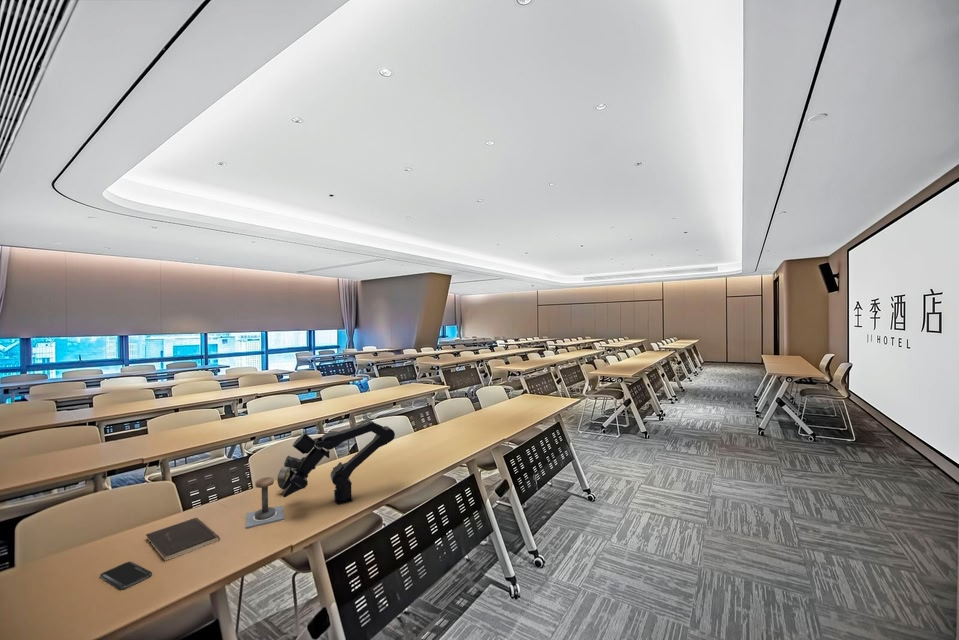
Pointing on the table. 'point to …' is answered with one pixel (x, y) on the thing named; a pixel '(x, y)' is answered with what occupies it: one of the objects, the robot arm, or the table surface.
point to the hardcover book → (182, 538)
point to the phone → (126, 575)
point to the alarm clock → (283, 476)
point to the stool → (264, 499)
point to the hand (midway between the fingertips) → (283, 492)
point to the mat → (277, 517)
